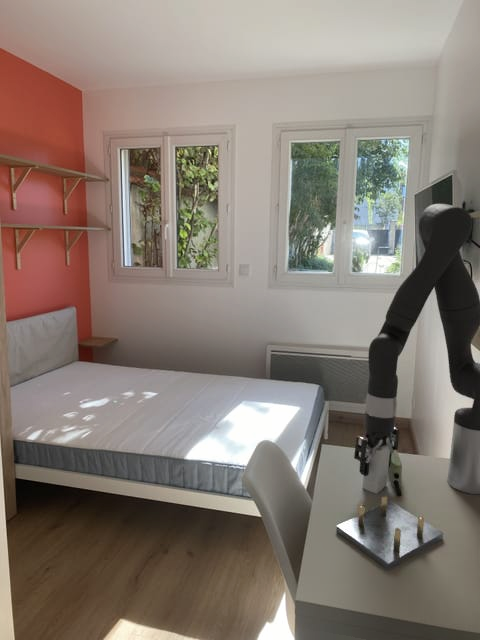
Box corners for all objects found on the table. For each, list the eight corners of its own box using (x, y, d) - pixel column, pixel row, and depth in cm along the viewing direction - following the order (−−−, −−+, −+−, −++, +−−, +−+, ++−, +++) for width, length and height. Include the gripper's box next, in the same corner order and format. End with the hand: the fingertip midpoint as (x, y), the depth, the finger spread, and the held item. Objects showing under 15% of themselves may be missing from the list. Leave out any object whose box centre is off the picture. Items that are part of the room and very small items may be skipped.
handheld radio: (392, 454, 137) (406, 499, 113) (380, 453, 138) (392, 498, 114) (392, 433, 136) (407, 474, 112) (381, 432, 137) (393, 473, 113)
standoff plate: (389, 507, 110) (391, 486, 109) (442, 539, 98) (445, 516, 97) (336, 531, 100) (337, 509, 99) (387, 570, 88) (390, 545, 87)
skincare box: (371, 479, 122) (375, 437, 120) (387, 485, 119) (391, 443, 117) (361, 488, 118) (364, 445, 115) (377, 495, 115) (381, 450, 113)
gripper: (386, 401, 121) (381, 458, 124) (349, 411, 113) (345, 471, 116) (410, 410, 115) (404, 469, 118) (373, 421, 107) (368, 484, 110)
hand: (375, 470), depth 117 cm, fingers open, 8 cm apart
